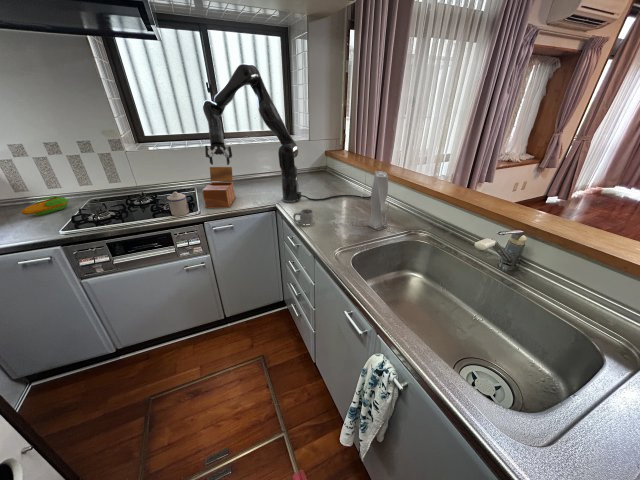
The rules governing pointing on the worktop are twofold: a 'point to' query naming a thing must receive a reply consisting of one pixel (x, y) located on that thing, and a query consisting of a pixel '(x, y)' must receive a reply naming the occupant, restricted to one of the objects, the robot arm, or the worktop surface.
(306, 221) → the mug
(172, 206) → the teacup with lid
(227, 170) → the flap
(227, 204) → the wooden box
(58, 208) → the corn
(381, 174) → the skyscraper
